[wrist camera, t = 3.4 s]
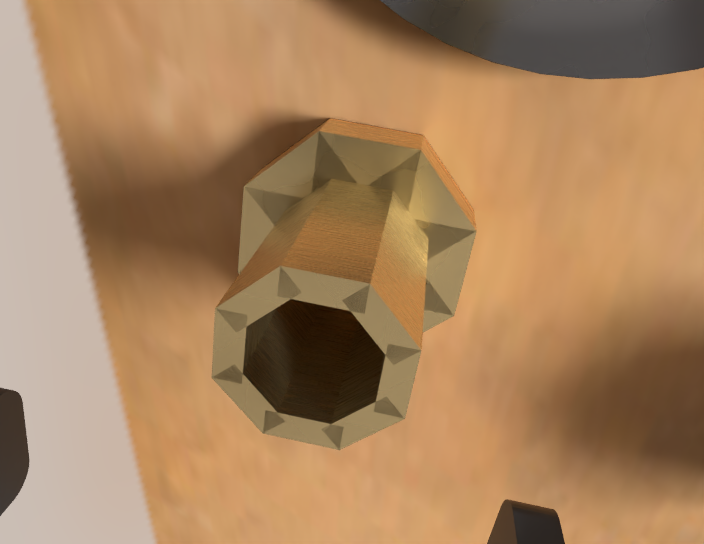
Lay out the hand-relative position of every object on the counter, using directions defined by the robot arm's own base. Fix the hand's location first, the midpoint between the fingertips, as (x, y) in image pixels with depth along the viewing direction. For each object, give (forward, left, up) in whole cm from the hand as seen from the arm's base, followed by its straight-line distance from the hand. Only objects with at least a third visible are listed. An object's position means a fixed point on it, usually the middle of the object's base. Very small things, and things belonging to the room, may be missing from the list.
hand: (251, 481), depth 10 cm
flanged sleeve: (0, 0, -11) cm, 11 cm away
